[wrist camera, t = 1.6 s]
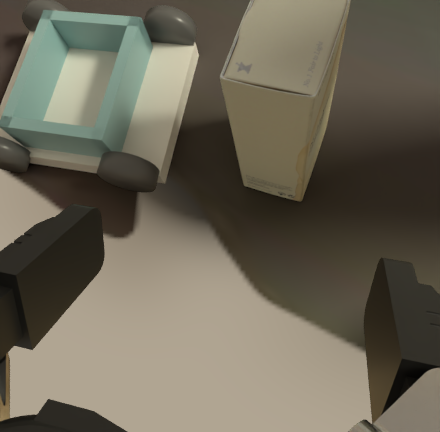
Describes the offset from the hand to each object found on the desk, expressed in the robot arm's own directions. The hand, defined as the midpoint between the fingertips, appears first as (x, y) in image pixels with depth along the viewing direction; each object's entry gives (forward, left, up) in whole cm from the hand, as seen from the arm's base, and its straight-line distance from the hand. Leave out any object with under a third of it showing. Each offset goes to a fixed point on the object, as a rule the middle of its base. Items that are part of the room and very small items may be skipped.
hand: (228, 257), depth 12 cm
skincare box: (0, -11, -16) cm, 19 cm away
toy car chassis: (+15, -13, -16) cm, 25 cm away
